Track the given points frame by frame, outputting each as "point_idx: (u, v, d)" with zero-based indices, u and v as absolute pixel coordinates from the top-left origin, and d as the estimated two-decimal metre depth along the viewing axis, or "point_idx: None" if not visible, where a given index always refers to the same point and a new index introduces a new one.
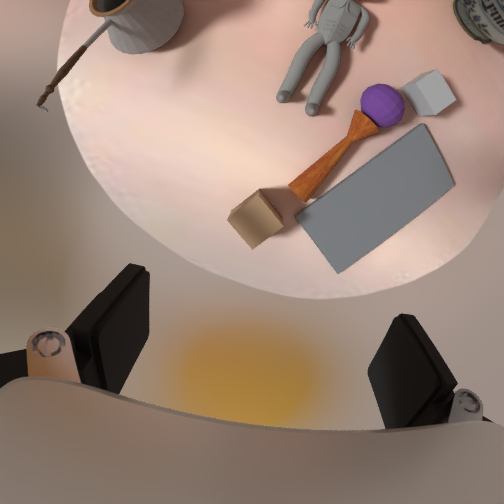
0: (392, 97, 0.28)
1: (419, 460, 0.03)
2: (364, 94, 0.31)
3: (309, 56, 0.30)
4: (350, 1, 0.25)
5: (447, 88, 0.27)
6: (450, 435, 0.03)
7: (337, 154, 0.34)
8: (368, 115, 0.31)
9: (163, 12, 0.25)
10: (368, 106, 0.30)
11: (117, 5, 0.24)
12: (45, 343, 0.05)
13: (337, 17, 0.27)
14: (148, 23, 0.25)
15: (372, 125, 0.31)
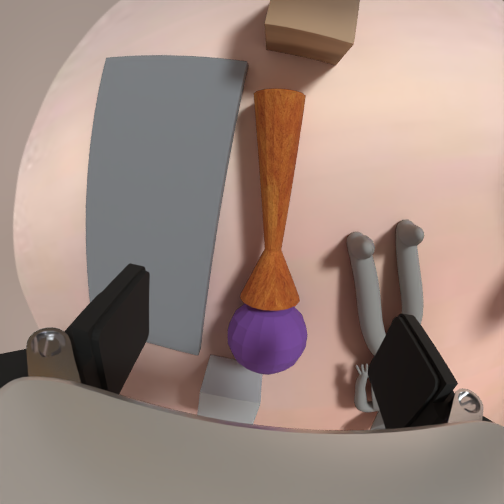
0: (271, 368, 0.19)
1: (419, 460, 0.03)
2: (306, 330, 0.20)
3: None
4: None
5: None
6: (450, 435, 0.03)
7: (275, 209, 0.18)
8: (277, 309, 0.20)
9: None
10: (290, 322, 0.19)
11: None
12: (46, 343, 0.05)
13: None
14: None
15: (263, 304, 0.19)
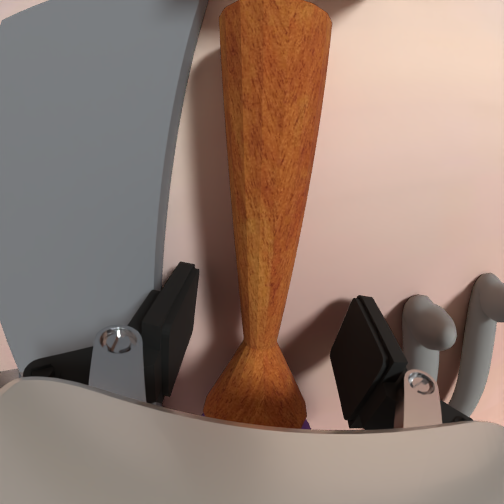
0: None
1: (419, 460, 0.03)
2: None
3: (462, 405, 0.11)
4: None
5: None
6: (450, 435, 0.03)
7: (264, 273, 0.08)
8: None
9: None
10: None
11: None
12: (115, 339, 0.06)
13: None
14: None
15: None
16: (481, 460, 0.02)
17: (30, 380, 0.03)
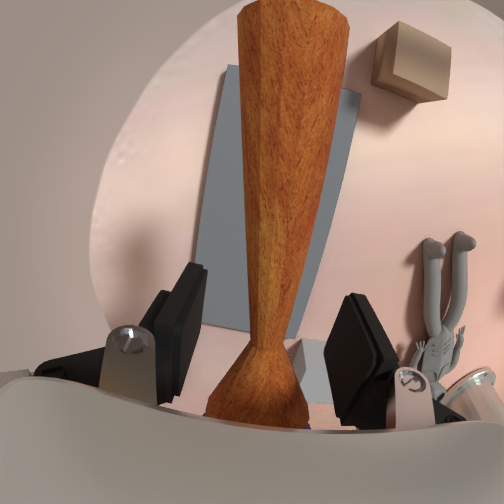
0: None
1: (419, 460, 0.03)
2: None
3: (456, 302, 0.25)
4: (434, 381, 0.28)
5: (311, 400, 0.27)
6: (450, 435, 0.03)
7: (275, 274, 0.08)
8: None
9: None
10: None
11: None
12: (128, 340, 0.06)
13: (442, 358, 0.27)
14: None
15: None
16: (481, 460, 0.02)
17: (30, 380, 0.03)
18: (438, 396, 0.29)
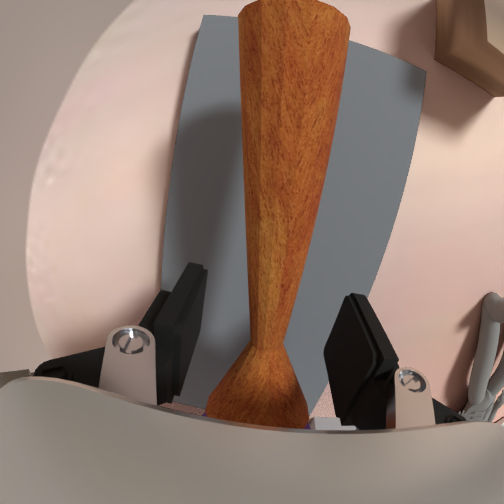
0: None
1: (419, 460, 0.03)
2: None
3: None
4: None
5: None
6: (450, 435, 0.03)
7: (275, 274, 0.08)
8: None
9: None
10: None
11: None
12: (128, 340, 0.06)
13: None
14: None
15: None
16: (481, 460, 0.02)
17: (30, 380, 0.03)
18: None
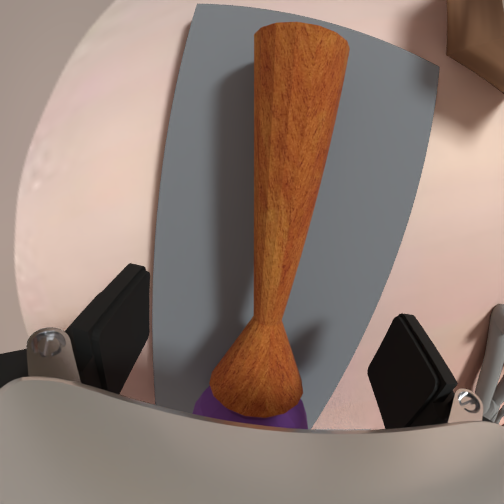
0: None
1: (419, 460, 0.03)
2: (307, 425, 0.12)
3: None
4: None
5: None
6: (450, 435, 0.03)
7: (278, 256, 0.09)
8: None
9: None
10: (286, 425, 0.11)
11: None
12: (46, 343, 0.05)
13: None
14: None
15: (244, 408, 0.10)
16: (481, 460, 0.02)
17: (30, 380, 0.03)
18: None
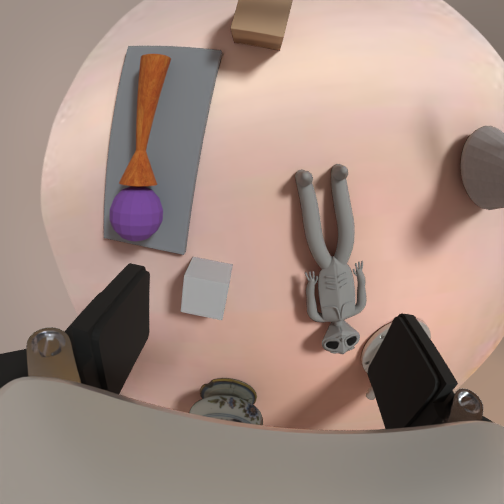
0: (129, 229, 0.27)
1: (419, 460, 0.03)
2: (159, 208, 0.29)
3: (341, 232, 0.32)
4: (337, 319, 0.35)
5: (197, 312, 0.33)
6: (450, 435, 0.03)
7: (141, 123, 0.25)
8: (139, 189, 0.27)
9: (488, 180, 0.24)
10: (145, 197, 0.27)
11: None
12: (45, 343, 0.05)
13: (340, 293, 0.34)
14: (495, 163, 0.22)
15: (126, 182, 0.26)
16: (481, 460, 0.02)
17: (30, 380, 0.03)
18: (347, 338, 0.36)
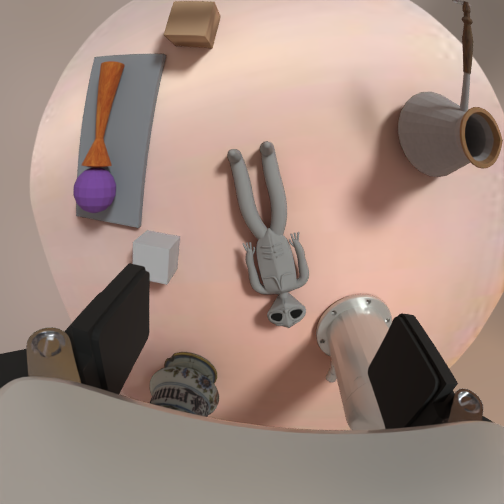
0: (85, 200, 0.31)
1: (419, 460, 0.03)
2: (110, 184, 0.32)
3: (272, 203, 0.35)
4: (278, 290, 0.38)
5: None
6: (450, 435, 0.03)
7: (98, 117, 0.29)
8: (96, 169, 0.31)
9: (423, 142, 0.27)
10: (99, 175, 0.31)
11: (469, 137, 0.25)
12: (45, 343, 0.05)
13: (277, 263, 0.37)
14: (428, 123, 0.25)
15: (86, 163, 0.30)
16: (481, 460, 0.02)
17: (30, 380, 0.03)
18: (291, 310, 0.38)
